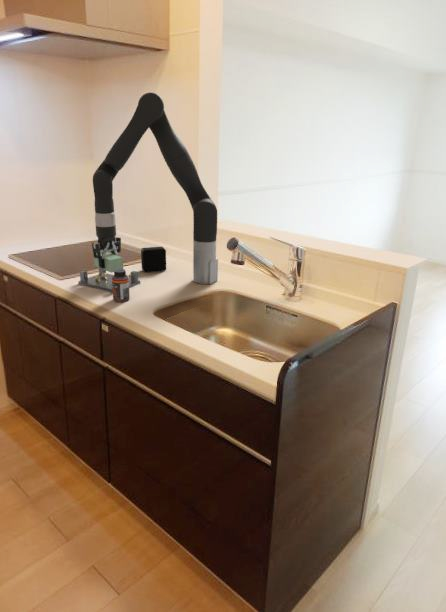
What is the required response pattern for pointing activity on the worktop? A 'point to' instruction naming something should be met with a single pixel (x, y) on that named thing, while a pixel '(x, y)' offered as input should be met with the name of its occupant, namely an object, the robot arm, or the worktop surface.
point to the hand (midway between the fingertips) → (108, 265)
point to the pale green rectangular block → (110, 262)
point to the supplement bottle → (120, 286)
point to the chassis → (104, 280)
